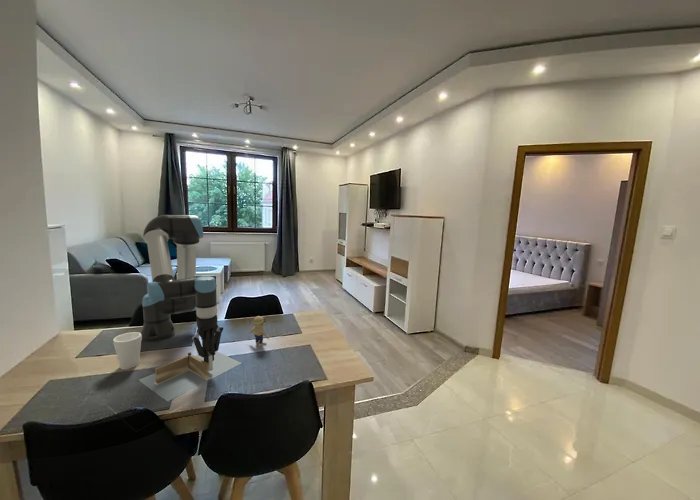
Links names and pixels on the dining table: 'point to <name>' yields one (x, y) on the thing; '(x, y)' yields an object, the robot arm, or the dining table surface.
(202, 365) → the hinged panel
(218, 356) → the card
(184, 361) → the fixed panel
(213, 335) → the robot arm
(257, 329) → the toy
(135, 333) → the foam cup
